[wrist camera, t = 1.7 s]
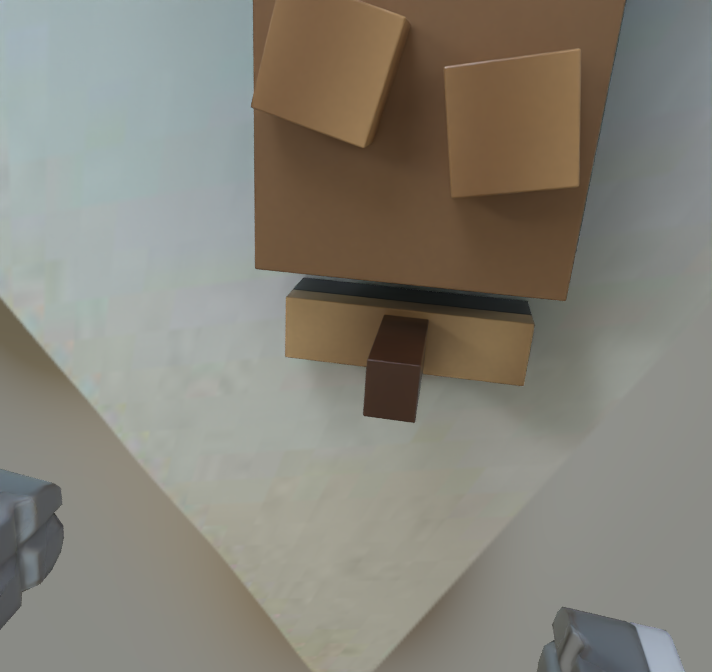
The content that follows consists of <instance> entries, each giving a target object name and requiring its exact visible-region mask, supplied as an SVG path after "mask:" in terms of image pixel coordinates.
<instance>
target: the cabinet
mask: <svg viewBox="0 0 712 672" xmlns="http://www.w3.org/2000/svg"><path fill="white" fill-rule="evenodd" d="M275 1H276V0H253V56H254V90H255V86H256V81H257V77H258V73H259V69H260V64H261V60H262V56H263V52H264V47H265V43H266V39H267V35H268V30H269V26H270V22H271V18H272V13H273V9H274V5H275ZM360 1H363V2H366V3H368V4H371V5H374V6H377V7H380V8H383V9H385V10H388V11H391V12H394V13H397V14H399V15H402V16H405V17H406V19H407V20H408V21H409V23H410V24H411V28H410V31H409V34H408V37H407V40H406V43H405V46H404V49H403V52H402V55H401V59H400V62H399V65H398V68H397V71H396V74H395V77H394V80H393V83H392V86H391V89H390V93H389V96H388V99H387V102H386V105H385V108H384V111H383V114H382V117H381V120H380V123H379V127H378V130H377V133H376V136H375V139H374V142H373V144H371V145H369V146H367V147H365V148H361V147H358V146H355V145H352V144H350V143H347V142H344V141H341V140H339V139H336V138H333V137H330V136H328V135H325V134H322V133H319V132H317V131H314V130H311V129H308V128H306V127H303V126H300V125H297V124H295V123H292V122H289V121H286V120H284V119H281V118H278V117H275V116H273V115H270V114H267V113H264V112H262V111H259V110H256V109H254V188H255V269H261V270H271V271H280V272H290V273H300V274H309V275H319V276H328V277H338V278H348V279H357V280H367V281H376V282H386V283H396V284H405V285H415V286H424V287H434V288H444V289H453V290H463V291H473V292H482V293H492V294H501V295H511V296H521V297H530V298H540V299H549V300H559V301H566V298H567V293H568V288H569V283H570V278H571V273H572V268H573V263H574V258H575V253H576V251H577V246H578V241H579V236H580V231H581V226H582V221H583V216H584V211H585V206H586V201H587V196H588V191H589V186H590V180H591V175H592V170H593V165H594V160H595V155H596V150H597V145H598V140H599V135H600V130H601V125H602V120H603V115H604V110H605V105H606V100H607V95H608V90H609V85H610V80H611V75H612V70H613V65H614V60H615V55H616V50H617V45H618V40H619V35H620V30H621V25H622V20H623V15H624V10H625V5H626V0H360ZM577 48H579V49H581V105H580V175H579V186H578V187H576V188H565V189H554V190H543V191H532V192H521V193H510V194H499V195H489V196H478V197H467V198H456V199H453V198H451V189H450V173H449V156H448V139H447V122H446V105H445V89H444V72H443V69H444V67H445V66H451V65H458V64H466V63H473V62H481V61H488V60H495V59H503V58H510V57H518V56H525V55H533V54H540V53H547V52H555V51H562V50H570V49H577Z"/></svg>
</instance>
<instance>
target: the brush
mask: <svg viewBox="0 0 712 672" xmlns="http://www.w3.org/2000/svg"><path fill="white" fill-rule="evenodd" d="M534 327H535V324H534V321H533V317H532V314H531V310H530V307H529V304H528V301H522V300H512V299H503V298H493V297H483V296H474V295H464V294H455V293H445V292H436V291H426V290H417V289H407V288H398V287H388V286H379V285H369V284H360V283H350V282H340V281H331V280H321V279H312V278H303V279H302V280H301V281H300V282H299V283H298V284H297V285H296V286H295V288H294V289H293V290H292V291H291V292H290V293H289V294H288V296H287V297H286V330H285V357H290V358H299V359H307V360H315V361H323V362H331V363H339V364H347V365H355V366H363V367H366V381H365V395H364V409H363V415H364V416H368V417H375V418H383V419H390V420H398V421H405V422H413V423H415V420H416V414H417V407H418V401H419V394H420V388H421V381H422V375H423V374H428V375H436V376H444V377H452V378H460V379H468V380H477V381H485V382H493V383H501V384H509V385H517V386H524V382H525V376H526V371H527V365H528V360H529V354H530V349H531V343H532V338H533V332H534Z"/></svg>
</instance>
